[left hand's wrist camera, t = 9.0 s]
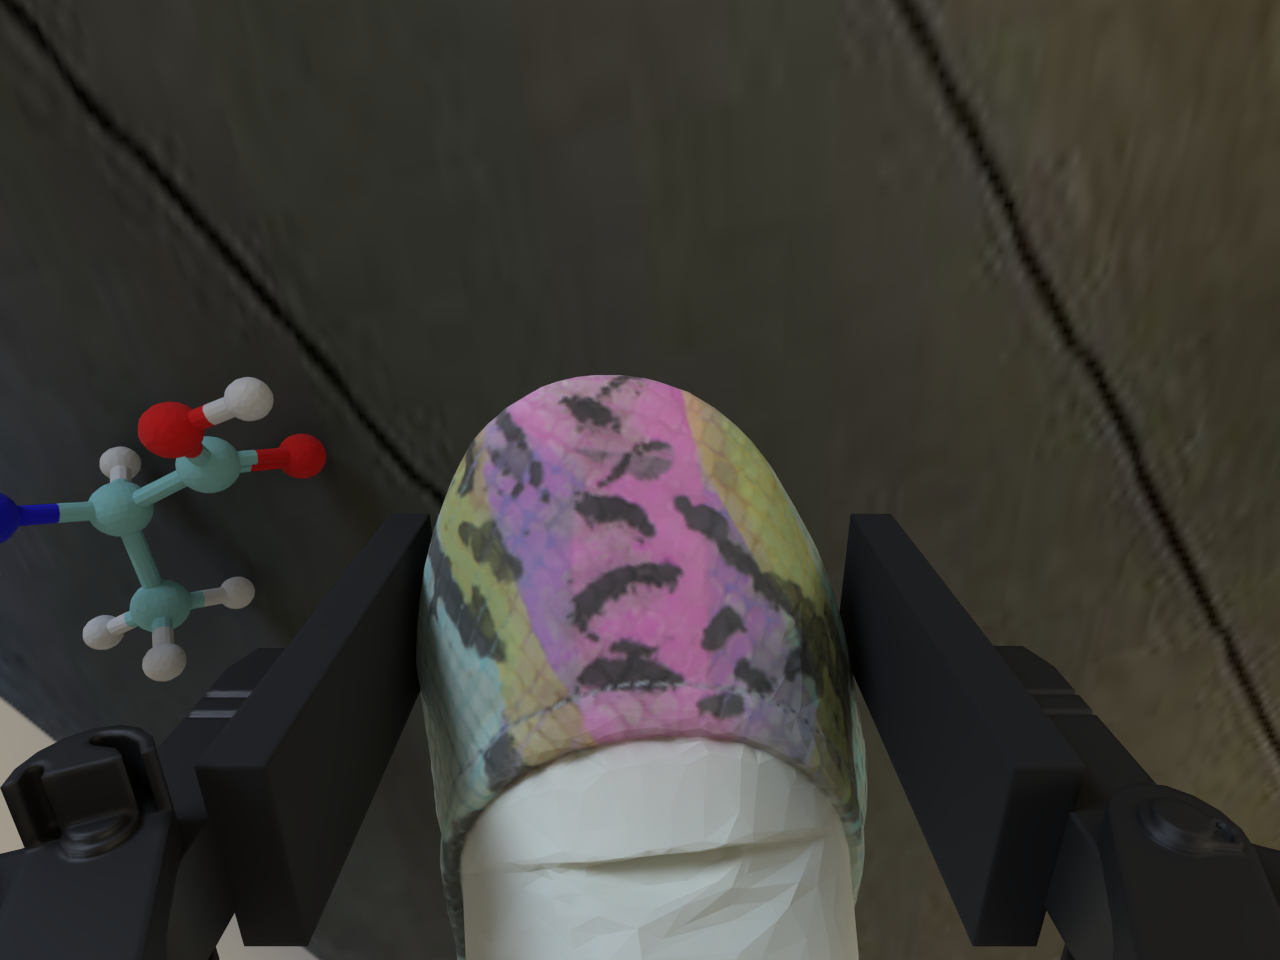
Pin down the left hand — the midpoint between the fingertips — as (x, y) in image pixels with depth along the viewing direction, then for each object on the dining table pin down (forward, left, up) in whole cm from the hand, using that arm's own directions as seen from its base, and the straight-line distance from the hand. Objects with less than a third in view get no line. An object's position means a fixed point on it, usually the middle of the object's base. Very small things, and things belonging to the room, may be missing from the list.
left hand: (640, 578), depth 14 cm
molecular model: (+14, -10, -13) cm, 21 cm away
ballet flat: (+5, +6, -1) cm, 8 cm away
